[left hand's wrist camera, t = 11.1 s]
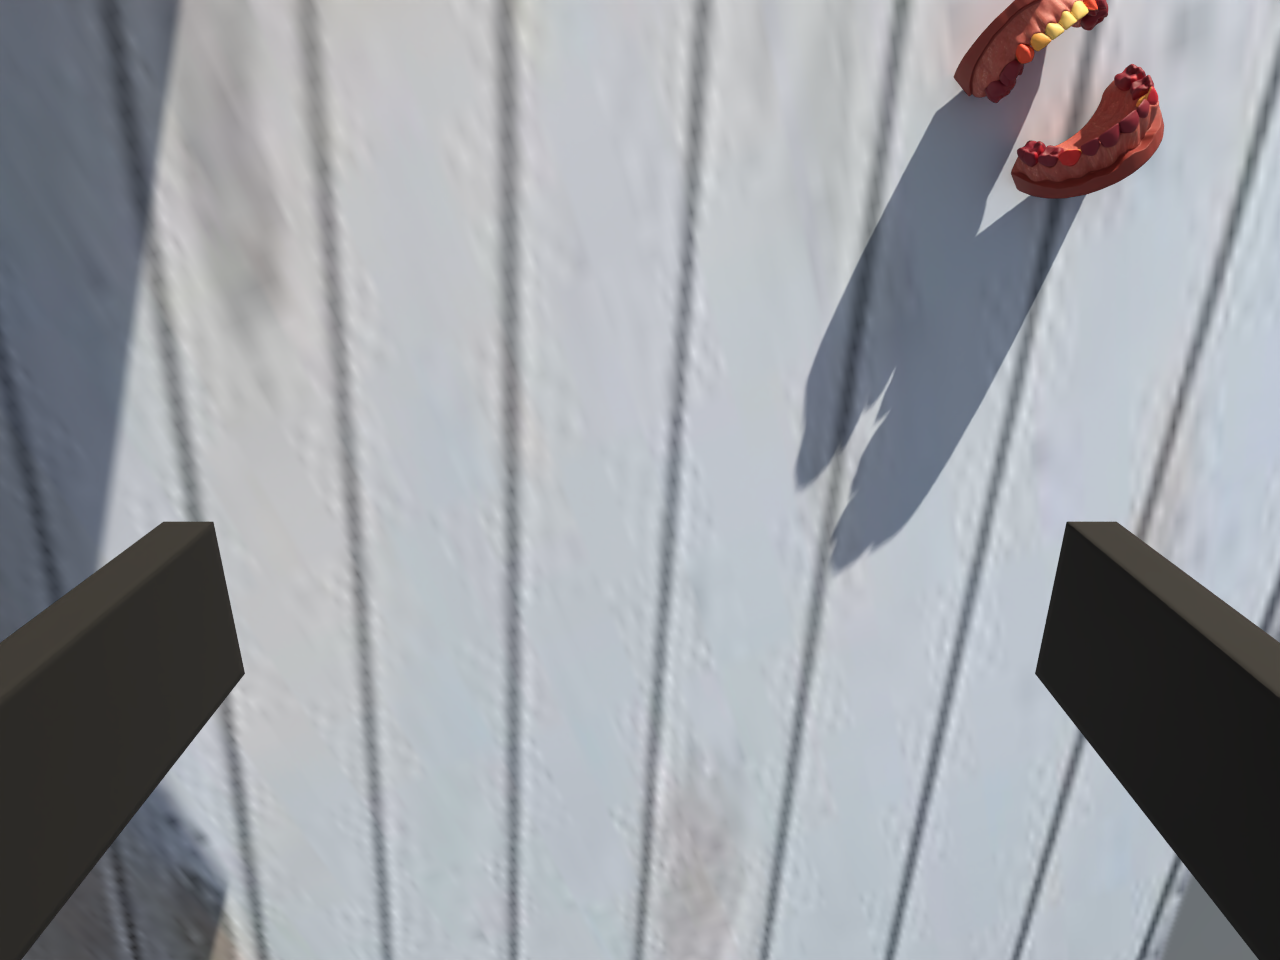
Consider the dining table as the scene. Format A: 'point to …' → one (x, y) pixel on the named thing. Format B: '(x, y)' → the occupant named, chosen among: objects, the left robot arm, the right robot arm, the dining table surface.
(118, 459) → the dining table surface
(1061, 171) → the dental model
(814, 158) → the dining table surface
